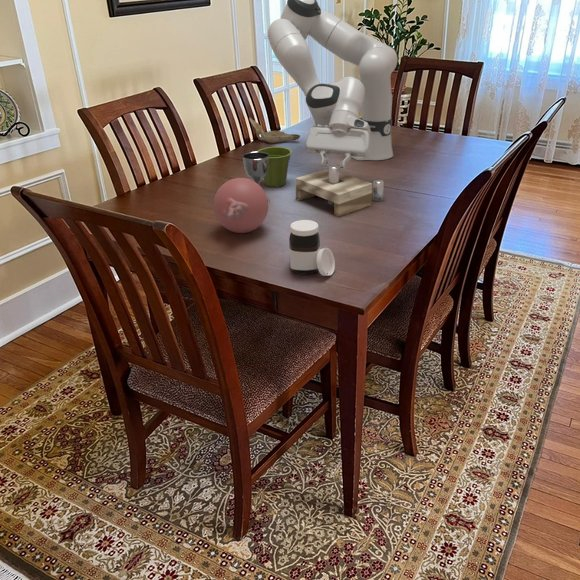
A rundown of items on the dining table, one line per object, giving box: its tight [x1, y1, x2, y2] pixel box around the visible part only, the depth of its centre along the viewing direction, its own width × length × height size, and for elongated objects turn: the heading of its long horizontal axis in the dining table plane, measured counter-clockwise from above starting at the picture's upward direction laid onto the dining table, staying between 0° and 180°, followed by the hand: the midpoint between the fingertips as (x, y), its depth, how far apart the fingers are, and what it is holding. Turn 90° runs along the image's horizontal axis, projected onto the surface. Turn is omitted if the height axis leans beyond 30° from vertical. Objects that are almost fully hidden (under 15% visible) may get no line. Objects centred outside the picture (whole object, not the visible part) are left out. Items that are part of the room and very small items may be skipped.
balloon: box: [213, 177, 269, 234], centre depth 165 cm, size 15×20×15 cm
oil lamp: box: [248, 117, 301, 144], centre depth 247 cm, size 9×21×10 cm, turn 79°
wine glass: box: [242, 151, 269, 186], centre depth 187 cm, size 8×8×15 cm
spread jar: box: [288, 219, 336, 277], centre depth 146 cm, size 12×11×12 cm
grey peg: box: [327, 164, 340, 205], centre depth 185 cm, size 3×3×12 cm
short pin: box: [372, 179, 385, 202], centre depth 188 cm, size 3×3×6 cm
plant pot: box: [256, 146, 293, 187], centre depth 201 cm, size 12×12×11 cm
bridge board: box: [295, 168, 373, 218], centre depth 186 cm, size 20×14×7 cm
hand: (332, 166), depth 182 cm, fingers open, 4 cm apart
